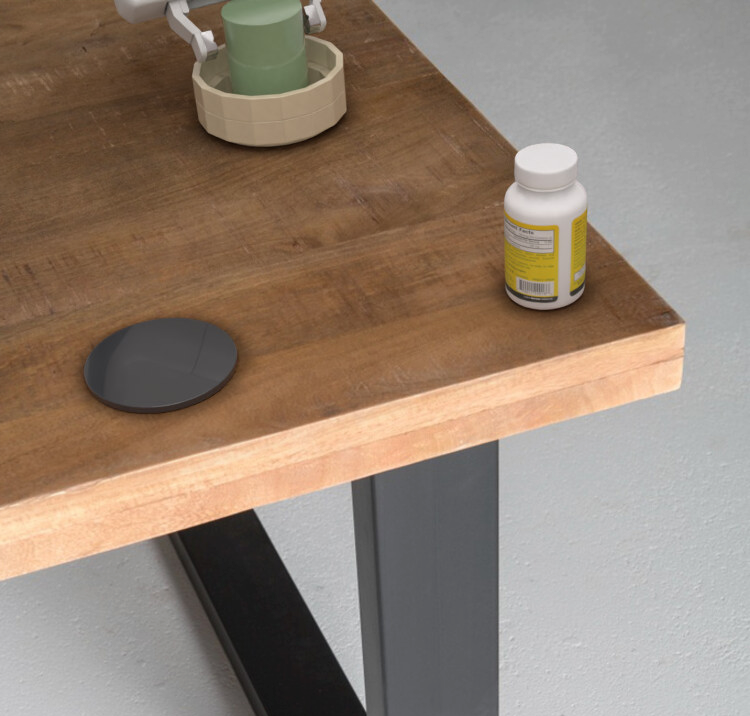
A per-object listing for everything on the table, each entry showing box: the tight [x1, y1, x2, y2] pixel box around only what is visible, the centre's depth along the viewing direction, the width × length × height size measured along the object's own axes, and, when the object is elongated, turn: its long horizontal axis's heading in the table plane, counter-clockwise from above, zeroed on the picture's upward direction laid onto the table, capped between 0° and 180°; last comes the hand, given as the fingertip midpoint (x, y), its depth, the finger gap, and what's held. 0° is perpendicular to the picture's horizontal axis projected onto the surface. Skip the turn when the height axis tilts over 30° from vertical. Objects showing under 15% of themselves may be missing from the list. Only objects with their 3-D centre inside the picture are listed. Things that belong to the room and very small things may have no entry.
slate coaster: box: [83, 317, 239, 414], centre depth 92 cm, size 10×10×1 cm
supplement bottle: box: [503, 142, 589, 311], centre depth 92 cm, size 5×5×10 cm
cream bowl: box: [191, 34, 348, 148], centre depth 116 cm, size 12×12×4 cm
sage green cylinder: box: [220, 0, 309, 96], centre depth 114 cm, size 6×6×8 cm
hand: (263, 44), depth 113 cm, fingers open, 8 cm apart
